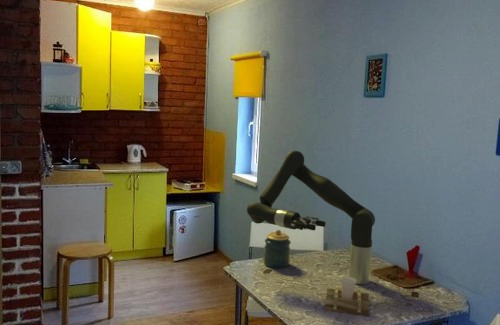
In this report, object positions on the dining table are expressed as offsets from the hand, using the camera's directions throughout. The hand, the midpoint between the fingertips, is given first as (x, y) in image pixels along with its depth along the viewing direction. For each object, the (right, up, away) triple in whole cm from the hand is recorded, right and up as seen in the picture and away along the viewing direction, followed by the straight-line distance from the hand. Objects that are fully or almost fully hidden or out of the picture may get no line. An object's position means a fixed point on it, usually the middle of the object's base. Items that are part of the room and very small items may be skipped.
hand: (320, 226), depth 200 cm
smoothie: (+10, -30, -5) cm, 32 cm away
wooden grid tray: (+10, -31, -5) cm, 33 cm away
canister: (-16, -24, +40) cm, 50 cm away
